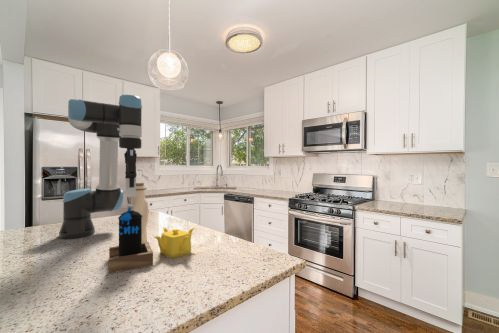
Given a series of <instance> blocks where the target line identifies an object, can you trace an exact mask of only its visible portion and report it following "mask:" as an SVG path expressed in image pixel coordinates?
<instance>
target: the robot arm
mask: <svg viewBox="0 0 499 333" xmlns="http://www.w3.org/2000/svg"><path fill="white" fill-rule="evenodd" d="M67 106H68V107H67V109H68V110H67V111H68V112H67V115H68V116H67V120H68V121H67V122H68V123H69V125H70V126H72V127H73V128H75V129H76V130H78V131H82V132H84V133H92V134H96V138H97V139H99V168H98V172H99V173H98V179H99V180H98V185H96V187H95V190H92V189H91V188H79V189H74V190H73V189H72V190H69V191H66V192H65V193H64V194H63V198H62V200H63V201H62V204H63V205H62V206H63V209H62V210H63V214H62V218H63V222H62V224H61V227H60V230H59V231H58V238H60V239H66V240H67V239H70V240H71V239H78V238H84V237H85V238H86V237H88V236H92V235H94V234H95V232H96V229H95V226H94V223H93V220H92V214H93V213H103V212H113V211H119V210H120V209H121V207H122V205H123V202H124V190H123V189H121V186H120V185H119V184H118V167H119V166H118V162H119V161H118V158H119V148H120V149H126V151H125V153H124V154H123V155H124V163H125V171H124V172H125V177H124V178H125V193H126V198H127V197H136V183H137V156H138V155H137V153H136V152H137V151H136V149H137V150H138V149H142V139H141V138H142V137H143V136H142V135H143V134H142V133H143V132H142V131H143V130H142V129H143V128H142V127H143V126H142V111H143V110H142V109H143V106H142V99H141V97H139V96H137V95H132V94H121V95H119V99H118V104H111V103H103V102H102V103H101V102H95V101H88V100H83V99H69V100H68V104H67Z"/></svg>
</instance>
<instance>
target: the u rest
mask: <svg viewBox="0 0 499 333" xmlns="http://www.w3.org/2000/svg"><path fill="white" fill-rule="evenodd" d="M108 249H109V252H108V253H109V255H108V257H109V258H108V274H113V273H117V272H123V271H129V270H134V269H139V268H144V267H149V266H154V251H153V250H152V247H151V245H150V242H149V241H147V242H144V243H142V253H140V254H133V255H127V256H121V257H119V245H117V246H110V247H109V248H108Z"/></svg>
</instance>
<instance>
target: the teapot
mask: <svg viewBox="0 0 499 333" xmlns="http://www.w3.org/2000/svg"><path fill="white" fill-rule="evenodd" d="M195 229H196V228H195V227H192V228H190V229H189V230H188V232H187V231H184V230H181V229H178V228H173V229H172V230H168V228H166V227H163V231H164V232H161V235H160V236H159V235H155V236H153V238H154V239H156V240H157V244H158V247H159V250H160V251H159V252H160V253H161V254H162V255H163V254H164V256H165V257H167V256H168V258H169V257H170V259H176V258H179V256H180V257H183V256H186V255H188V253H189V254H191V251H192V235H193V234H192V233H193V231H194V230H195ZM185 254H186V255H185ZM182 255H183V256H182Z"/></svg>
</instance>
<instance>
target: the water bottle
mask: <svg viewBox="0 0 499 333" xmlns="http://www.w3.org/2000/svg"><path fill="white" fill-rule="evenodd" d="M147 189H148V188H147V187H146V186H145V183H144V182H136V197H127V196H126V207H128V205H133V211H136V212H139V213H140V214H141V215H142V243H144V242H148V236H147V234H148V232H147V225H148V220H149V214H150V213H149V212H150V211H149V210H150V209H149V208H150V207H149V203H148V201H147V199H146V190H147Z"/></svg>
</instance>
